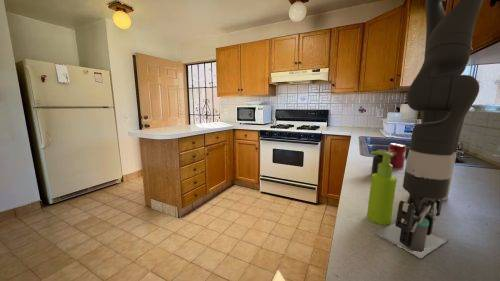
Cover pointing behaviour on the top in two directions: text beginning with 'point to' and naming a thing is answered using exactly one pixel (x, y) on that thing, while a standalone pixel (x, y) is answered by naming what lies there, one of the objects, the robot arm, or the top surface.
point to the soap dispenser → (382, 191)
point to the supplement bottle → (377, 161)
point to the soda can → (397, 155)
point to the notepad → (394, 233)
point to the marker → (419, 236)
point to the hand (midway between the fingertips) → (415, 238)
